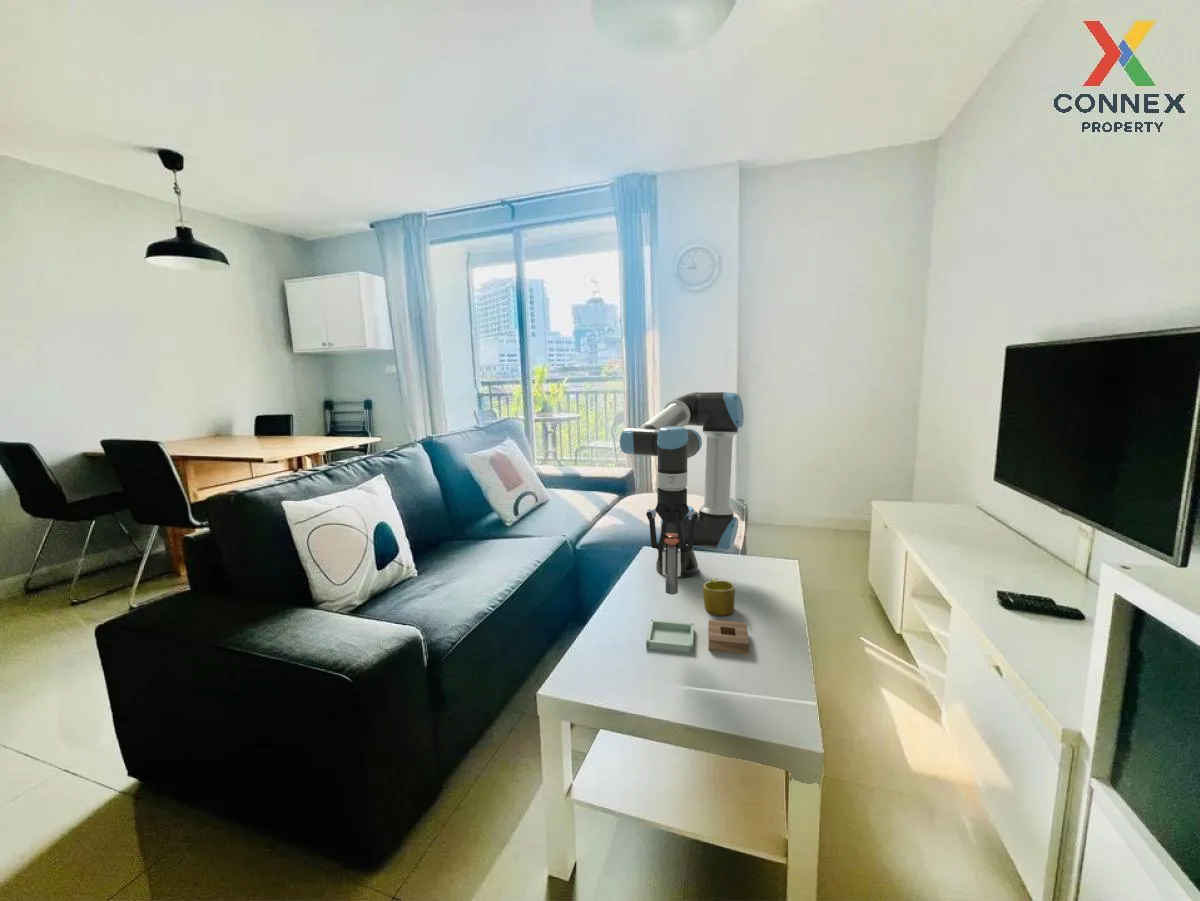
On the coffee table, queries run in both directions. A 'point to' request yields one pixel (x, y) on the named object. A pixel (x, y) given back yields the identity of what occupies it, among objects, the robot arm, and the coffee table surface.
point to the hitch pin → (671, 562)
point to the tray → (670, 636)
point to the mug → (719, 597)
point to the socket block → (728, 637)
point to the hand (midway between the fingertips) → (671, 573)
